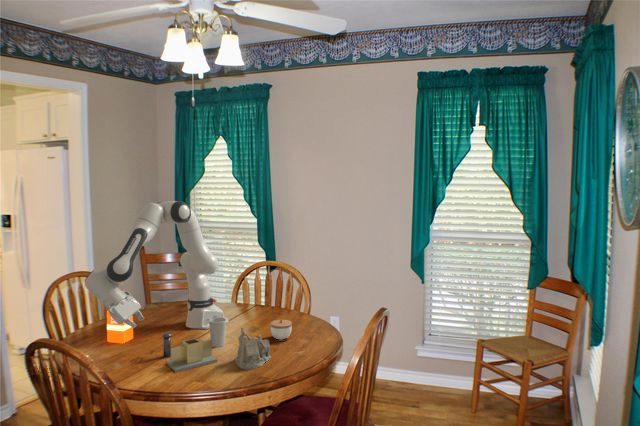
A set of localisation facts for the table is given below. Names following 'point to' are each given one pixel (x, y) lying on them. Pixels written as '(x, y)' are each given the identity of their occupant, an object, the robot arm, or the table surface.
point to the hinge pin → (167, 344)
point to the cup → (217, 331)
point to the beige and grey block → (191, 351)
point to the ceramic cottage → (252, 351)
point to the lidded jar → (281, 328)
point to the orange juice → (118, 331)
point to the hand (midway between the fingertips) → (139, 323)
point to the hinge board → (185, 366)
